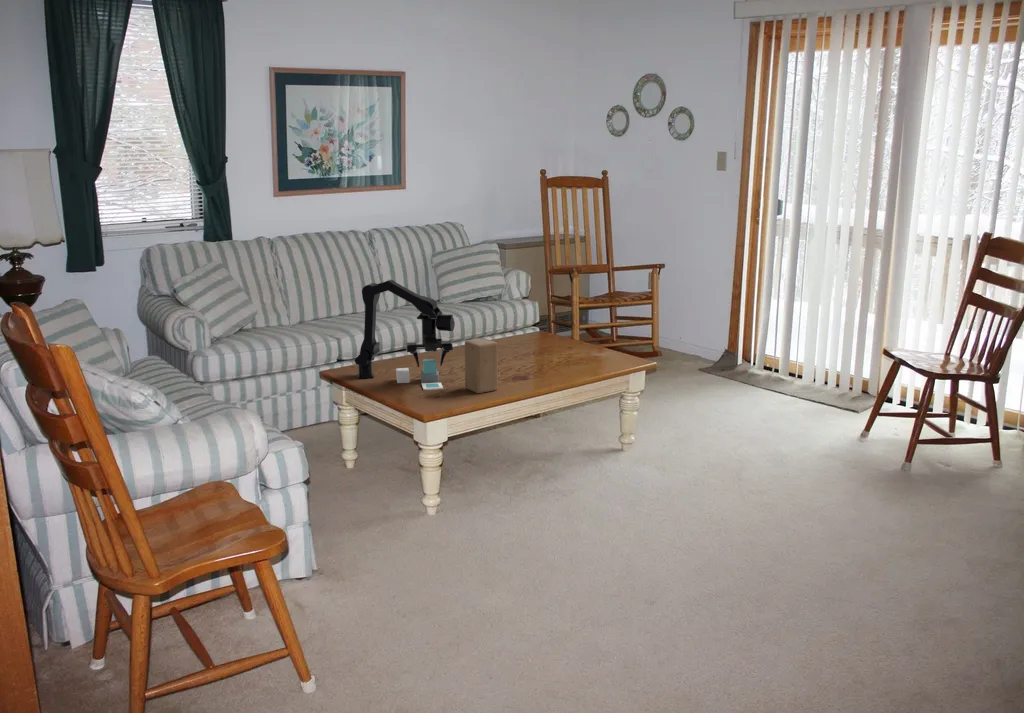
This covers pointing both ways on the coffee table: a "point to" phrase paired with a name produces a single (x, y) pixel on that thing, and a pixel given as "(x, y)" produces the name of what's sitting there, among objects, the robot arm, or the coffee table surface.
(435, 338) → the robot arm
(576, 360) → the coffee table surface
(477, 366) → the wooden block
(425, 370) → the teal block
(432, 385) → the tile
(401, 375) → the white block
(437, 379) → the slate base block
